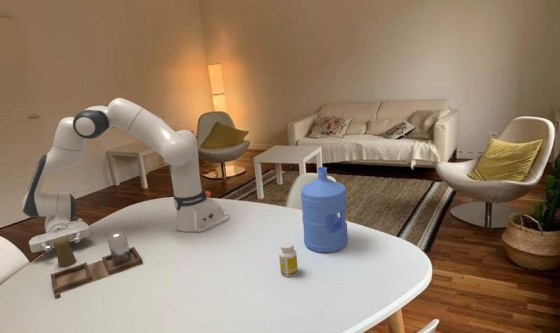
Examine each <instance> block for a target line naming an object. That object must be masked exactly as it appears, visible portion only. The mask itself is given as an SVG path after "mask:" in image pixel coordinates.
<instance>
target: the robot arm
mask: <svg viewBox="0 0 560 333" xmlns="http://www.w3.org/2000/svg"><path fill="white" fill-rule="evenodd" d="M115 127H116V128H119V129H121V130H122V131H125V132H126V133H129V135H132V136H133V137H135V138H137V139H138V140H140V141H142V142H143V143H145V144H146V145H147V146H149V147H150V148H151V149H152V150H154V151H155V152H156V153H157V154H158V155H159V156H161V157H162V158H163V159H164V161H165V163H167V165H169V166H171V176H170V177H171V184H172V189H173V203H174V207H175V210H176V220H175V222H176V224H175V229H176V230H177V231H179V232H184V233H186V232H198V233H202V232H204V231H206V230H209V229H211V228H213V227H215V226H218V225H220V224H222V223H225V222H227V221H229V220H230V218H231V217H230V214H229V212H227V211H226V210H224V209H223V207H222V205H221V204H220V203H219V202H218V201H217V200H215V199H213V198H210V197H211V196H212V193H211V191H208V190H206V189H203V188H202V184H201V176H200V162H199V160H200V159H199V150H198V148H199V147H198V140H197V136H196V135H195V134H194V133H193V132H192V131H190V130H187V129H181V130H180V129H179V130H177V131H175V130H174V129H172V128H171V127H170V126H169V125H168V124H167V123H165V121H164V120H163V119H162V118H161V117H159V116H157V115H155V114H154V113H152V112H150V111H149V110H147V109H145V108H144V107H142V106H140V105H139V104H136V103H134V102H132V101H130V100H128V99H125V98H122V97H117V98H115V99H114V98H113V100H111V101H110V102H109V103H108V104H98V105H97V104H96V105H95V106H90V107H89V106H88V108H87V107H86V108H85V109H83V110H81V111H79V112H78V113H76V115H75V116H74V117H73V116H67V117H64V118H62V119H61V120H60V121H59V122H58V125H57V128H56V131H55V133H54V134H55V135H54V138H53V143H52V147H51V149H50V150H48V151H49V152H47V153H46V154H43V155H42V156H40V158H39V161H38V162H37V165H36V167H35V171H34V172H33V176H32V177H31V181H30V183H29V187H28V189H27V191H26V193H25V195H24V196H23V199H22V201H21V211H22V212H23V213H24V214H25V215H26V216H27V217H29V218H40V217H46V218H45V219H44V220H45V222H44V229H45V233H43V234H40V235H39V234H38V235H35V236H33V237H31V239H30V240H29V241H28V245H29V249H30V251H31V253H34V254H35V253H38V252H42V251H45V252H46V253H48V252H50V251H51V250H52V249H51V248H55V247H54V245H53V242H54V240H55V239H57V238H59V237H64V236H65V237H68V238H69V239H70V243H72V242H74V243H75V244H77V243H80V241H81V240H82V239H85V238H89V237H91V235H92V233H91V229H90V226H89V225H88V224H87V222H85V221H83V219H82V218H75V216H76V213H77V202H76V201H77V200H76V198H75V197H74V196H73V194H72V193H71V192H48V191H47V192H46V191H42V188H43V187H44V183H45V180H46V179H47V177H48V176H49V175H50V174H52V173H54V172H58V171H61V170H67V169H70V168H74V167H75V166H76V165H79V164H80V163H81V161H83V158H84V156H85V154H86V153H85V152H86V146H87V141H88V140H91V139H92V140H93V139H96V138H98V137H100V136H103V135H105V134H107V133H109V132H110V131H111V130H113V129H114V128H115ZM51 252H52V251H51Z"/></svg>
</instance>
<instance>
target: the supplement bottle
mask: <svg viewBox="0 0 560 333" xmlns="http://www.w3.org/2000/svg"><path fill="white" fill-rule="evenodd" d="M278 256H279V266H280V268H279V269H280V273H281V274H280V275H282V276H283V275H284V277H286V276H291V277H294V276H296V275H297V274H298V272H299V269H298V258H297V257H298V256H297V250H295V246H294V243H293V242H291V241H285V242H282V243H281V244H280V250H279V253H278ZM293 275H294V276H293Z"/></svg>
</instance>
